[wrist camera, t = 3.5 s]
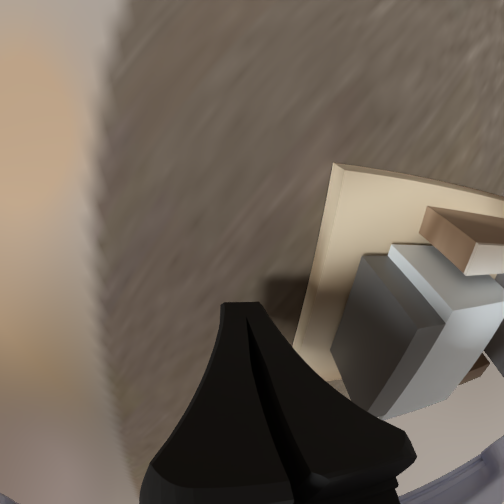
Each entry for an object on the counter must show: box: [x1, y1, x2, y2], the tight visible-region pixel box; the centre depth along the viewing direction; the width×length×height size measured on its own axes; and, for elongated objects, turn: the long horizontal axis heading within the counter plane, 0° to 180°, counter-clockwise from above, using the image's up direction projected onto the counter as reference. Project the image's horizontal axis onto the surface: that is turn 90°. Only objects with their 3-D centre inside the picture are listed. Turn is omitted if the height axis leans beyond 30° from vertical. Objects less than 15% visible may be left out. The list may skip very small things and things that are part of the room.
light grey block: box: [330, 244, 504, 420], centre depth 10 cm, size 8×6×4 cm
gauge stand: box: [292, 163, 504, 385], centre depth 11 cm, size 11×14×8 cm
